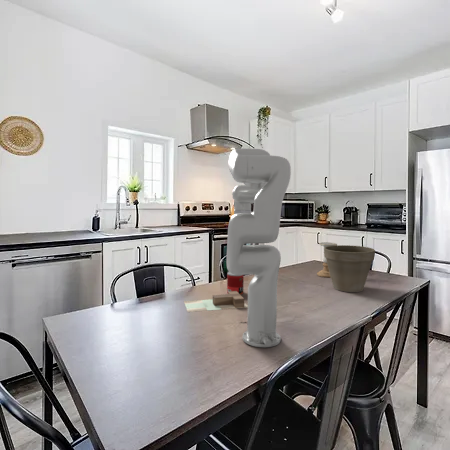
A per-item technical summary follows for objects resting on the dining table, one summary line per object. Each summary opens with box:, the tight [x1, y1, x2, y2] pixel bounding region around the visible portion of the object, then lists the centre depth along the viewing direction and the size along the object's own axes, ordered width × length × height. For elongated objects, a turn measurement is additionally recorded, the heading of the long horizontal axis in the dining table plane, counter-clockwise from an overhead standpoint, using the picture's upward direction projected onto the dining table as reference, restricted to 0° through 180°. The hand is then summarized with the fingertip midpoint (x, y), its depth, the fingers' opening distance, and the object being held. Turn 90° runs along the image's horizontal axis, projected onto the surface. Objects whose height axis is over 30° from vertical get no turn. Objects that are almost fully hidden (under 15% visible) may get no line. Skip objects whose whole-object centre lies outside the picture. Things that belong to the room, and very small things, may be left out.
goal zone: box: [184, 298, 223, 312], centre depth 136 cm, size 14×14×1 cm
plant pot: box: [323, 244, 376, 293], centre depth 167 cm, size 25×25×22 cm
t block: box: [212, 291, 245, 309], centre depth 138 cm, size 12×12×4 cm
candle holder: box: [316, 241, 338, 279], centre depth 196 cm, size 12×12×20 cm
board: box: [183, 299, 248, 313], centre depth 137 cm, size 14×26×1 cm, turn 104°
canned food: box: [226, 271, 245, 296], centre depth 155 cm, size 8×8×11 cm
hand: (241, 252), depth 143 cm, fingers open, 9 cm apart
